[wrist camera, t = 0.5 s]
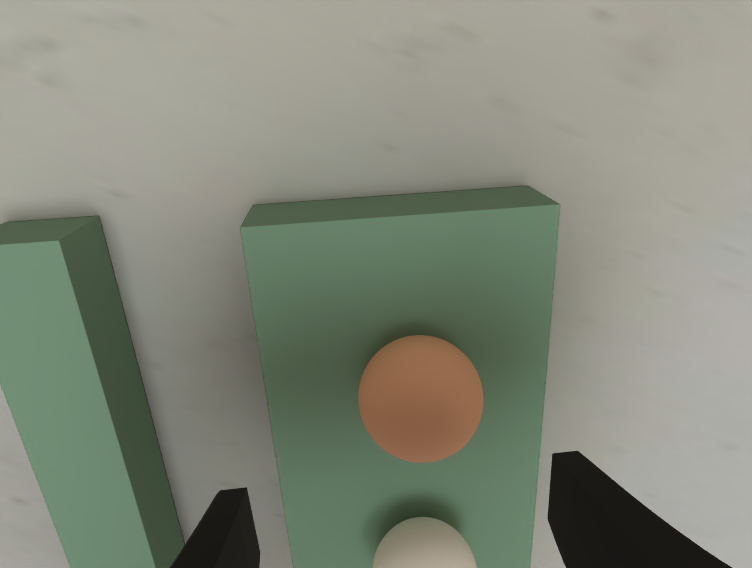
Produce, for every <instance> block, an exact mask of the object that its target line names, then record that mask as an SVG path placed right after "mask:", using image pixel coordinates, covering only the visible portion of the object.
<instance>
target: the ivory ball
mask: <svg viewBox="0 0 752 568" xmlns="http://www.w3.org/2000/svg"><path fill="white" fill-rule="evenodd" d="M372 568H477V566H476V562H475V558H474V556H473V553H472V551H471V549H470V547H469V545H468V543H467V542H466V541H465V539H464V538H463V537H462V535H461V534H460V533H459V532H458V531H457V530H455V529H454V528H453V527H452V526H450V525H449V524H447V523H445V522H443V521H441V520H438V519H435V518H430V517H415V518H410V519H407V520H404V521H402V522H400V523H399V524H397V525H396V526H394V527H393V528H392V529H391V530H390V531H389V532H388V533H387V534H386V535H385V536H384V538H383V539H382V540H381V542H380V544H379V546H378V548H377V550H376V553H375V556H374V560H373V566H372Z"/></svg>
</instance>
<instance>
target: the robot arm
mask: <svg viewBox="0 0 752 568" xmlns="http://www.w3.org/2000/svg"><path fill="white" fill-rule="evenodd" d="M548 522H549V524H550V527H551V530H552V533H553V535H554V538H555V541H556V544H557V546H558V549H559V551H560V554H561V557H562V559H563V562H564V564H565V566H566V568H732V567H730V566H729V565H727V564H725V563H724V562H722V561H721V560H719V559H718V558H716V557H715V556H713V555H712V554H710V553H709V552H707V551H706V550H704V549H703V548H701V547H700V546H698V545H697V544H696V543H694V542H693V541H691V540H690V539H689V538H687V537H686V536H684V535H683V534H682V533H680V532H679V531H677V530H676V529H675V528H673V527H672V526H671V525H669V524H668V523H667V522H665V521H664V520H663V519H661V518H660V517H659V516H657V515H656V514H655V513H653V512H652V511H651V510H650V509H648V508H647V507H646V506H644V505H643V504H642V503H641V502H639V501H638V500H637V499H636V498H634V497H633V496H632V495H631V494H629V493H628V492H627V491H626V490H624V489H623V488H622V487H621V486H620V485H618V484H617V483H616V482H615V481H614V480H612V479H611V478H610V477H609V476H607V475H606V474H605V473H604V472H603V471H601V470H600V469H599V468H598V467H597V466H596V465H594V464H593V463H592V462H591V461H590V460H588V459H587V458H586V457H585V456H583V455H582V454H581V453H580V452H579V451H571V452H562V453H553V454H552V467H551V480H550V494H549V507H548ZM259 562H260V549H259V545H258V540H257V535H256V530H255V525H254V520H253V516H252V511H251V506H250V501H249V496H248V491H247V488H238V489H229V490H220V491H219V492H218V493H217V495H216V496H215V498H214V499H213V501H212V503H211V504H210V506H209V508H208V509H207V511H206V512H205V514H204V516H203V517H202V519H201V521H200V522H199V524H198V525H197V527H196V528H195V530H194V532H193V533H192V535H191V536H190V538H189V539H188V541H187V542H186V544H185V545H184V547H183V548H182V550H181V551H180V553H179V554H178V556H177V557H176V559H175V560H174V562H173V563H172V565H171V566H170V568H259Z"/></svg>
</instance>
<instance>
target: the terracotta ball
mask: <svg viewBox="0 0 752 568" xmlns="http://www.w3.org/2000/svg"><path fill="white" fill-rule="evenodd" d="M358 404H359V410H360V415H361V418H362V421H363V424H364V426H365V428H366V430H367V432H368V433H369V434H370V436H371V437H372V439H373V440H374V441H375V442H376V443H377V444H378V445H379V446H380V447H381V448H382V449H384V450H385V451H386V452H387V453H389V454H391V455H393V456H395V457H397V458H399V459H402V460H405V461H409V462H416V463H428V462H435V461H438V460H442V459H444V458H447V457H449V456H451V455H453V454H454V453H456V452H457V451H459V450H460V449H461V448H462V447H464V446H465V445H466V444H467V442H468V441H469V440H470V439H471V437H472V436H473V434H474V433H475V431H476V429H477V427H478V425H479V422H480V419H481V416H482V411H483V389H482V384H481V381H480V378H479V376H478V373H477V371H476V369H475V367H474V366H473V364H472V362H471V361H470V360H469V359H468V357H467V356H466V355H465V354H464V353H463V352H462V351H461V350H460V349H458V348H457V347H456V346H454V345H453V344H451V343H449V342H447V341H445V340H443V339H440V338H437V337H432V336H426V335H413V336H406V337H403V338H400V339H397V340H394V341H393V342H391V343H389V344H387V345H386V346H384V347H383V348H382V349H380V350H379V351H378V352H377V353H376V354H375V355H374V356H373V357H372V359H371V360H370V362H369V363H368V365H367V366H366V368H365V370H364V372H363V374H362V378H361V381H360V385H359V391H358Z"/></svg>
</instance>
